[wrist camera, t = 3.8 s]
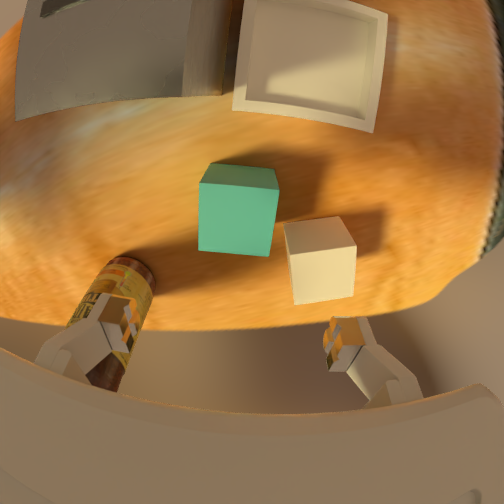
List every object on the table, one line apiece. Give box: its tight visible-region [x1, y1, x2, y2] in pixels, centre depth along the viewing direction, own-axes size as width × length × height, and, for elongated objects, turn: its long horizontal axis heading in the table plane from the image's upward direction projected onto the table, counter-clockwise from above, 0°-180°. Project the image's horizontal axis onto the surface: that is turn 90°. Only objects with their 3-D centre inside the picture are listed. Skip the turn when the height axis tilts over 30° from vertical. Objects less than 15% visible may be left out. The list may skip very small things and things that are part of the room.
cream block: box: [283, 216, 357, 305], centre depth 22 cm, size 5×5×5 cm
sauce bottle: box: [64, 257, 155, 393], centre depth 18 cm, size 7×6×20 cm
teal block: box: [198, 163, 280, 257], centre depth 20 cm, size 5×5×5 cm
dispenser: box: [15, 0, 233, 122], centre depth 9 cm, size 8×10×12 cm
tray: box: [232, 0, 388, 133], centre depth 15 cm, size 10×10×2 cm
